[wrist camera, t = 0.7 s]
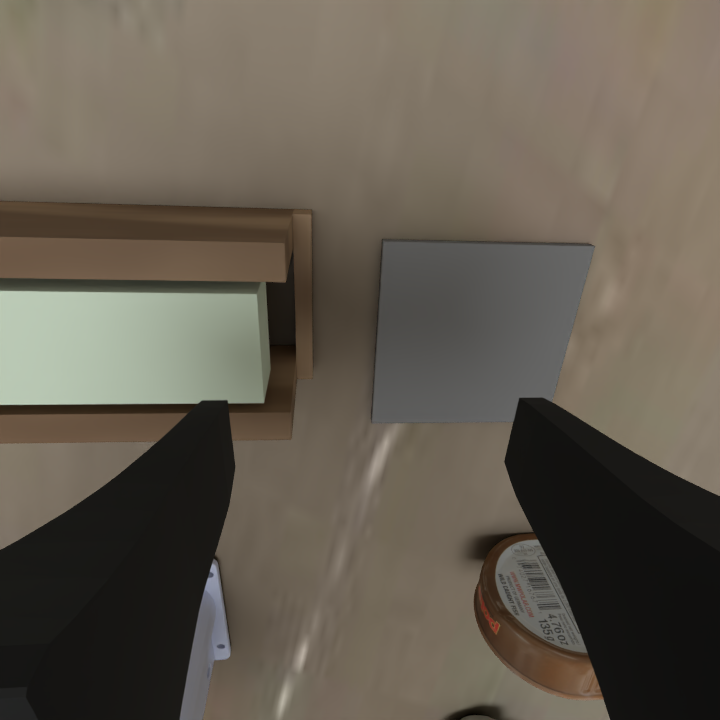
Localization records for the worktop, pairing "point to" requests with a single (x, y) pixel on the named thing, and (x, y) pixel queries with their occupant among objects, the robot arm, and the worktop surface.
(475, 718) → the white tapered cone
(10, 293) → the sage bar
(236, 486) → the worktop surface
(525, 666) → the tin
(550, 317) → the mat
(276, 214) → the pocket block
